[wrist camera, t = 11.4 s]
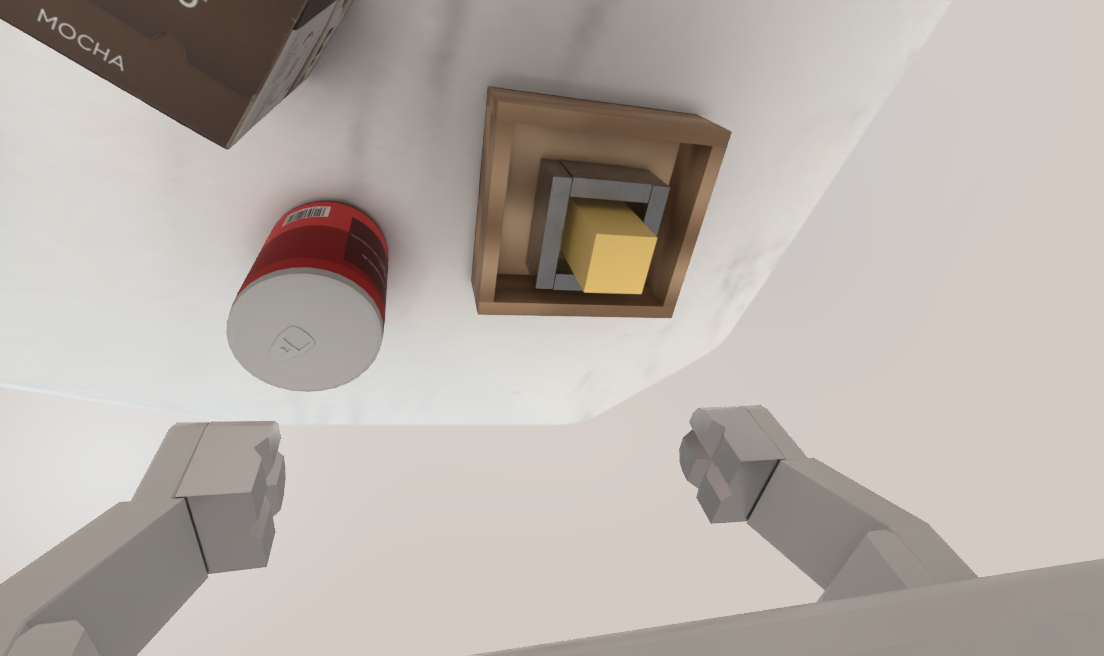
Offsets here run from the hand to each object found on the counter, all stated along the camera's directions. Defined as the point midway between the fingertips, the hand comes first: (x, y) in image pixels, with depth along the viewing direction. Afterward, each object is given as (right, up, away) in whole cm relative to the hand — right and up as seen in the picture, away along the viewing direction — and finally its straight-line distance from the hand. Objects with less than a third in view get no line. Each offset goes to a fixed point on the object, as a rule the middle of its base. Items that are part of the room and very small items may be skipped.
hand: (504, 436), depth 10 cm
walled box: (+3, +12, +29) cm, 31 cm away
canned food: (-15, +8, +27) cm, 32 cm away
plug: (+3, +10, +29) cm, 31 cm away
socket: (+3, +10, +29) cm, 31 cm away
